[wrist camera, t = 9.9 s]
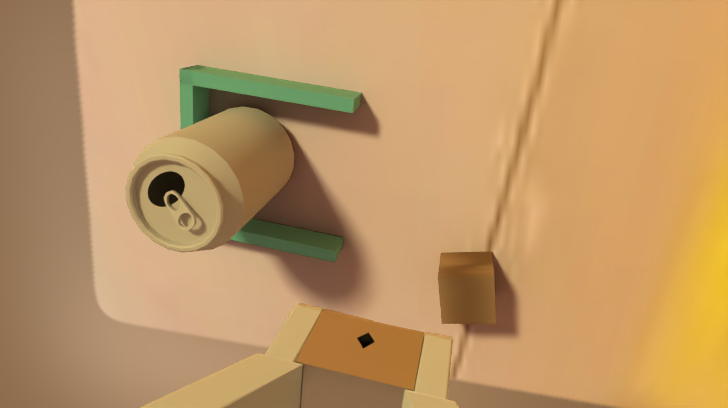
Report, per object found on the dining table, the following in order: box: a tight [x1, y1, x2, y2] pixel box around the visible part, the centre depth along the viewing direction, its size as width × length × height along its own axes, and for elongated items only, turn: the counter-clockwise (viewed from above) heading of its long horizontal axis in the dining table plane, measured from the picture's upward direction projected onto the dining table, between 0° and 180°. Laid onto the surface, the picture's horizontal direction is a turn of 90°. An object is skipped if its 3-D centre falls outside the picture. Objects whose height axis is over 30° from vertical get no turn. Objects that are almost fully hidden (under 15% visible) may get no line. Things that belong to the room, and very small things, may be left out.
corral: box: [180, 65, 362, 262], centre depth 38 cm, size 13×13×2 cm
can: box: [126, 106, 294, 252], centre depth 34 cm, size 8×8×12 cm
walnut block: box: [438, 252, 496, 324], centre depth 38 cm, size 4×4×4 cm
